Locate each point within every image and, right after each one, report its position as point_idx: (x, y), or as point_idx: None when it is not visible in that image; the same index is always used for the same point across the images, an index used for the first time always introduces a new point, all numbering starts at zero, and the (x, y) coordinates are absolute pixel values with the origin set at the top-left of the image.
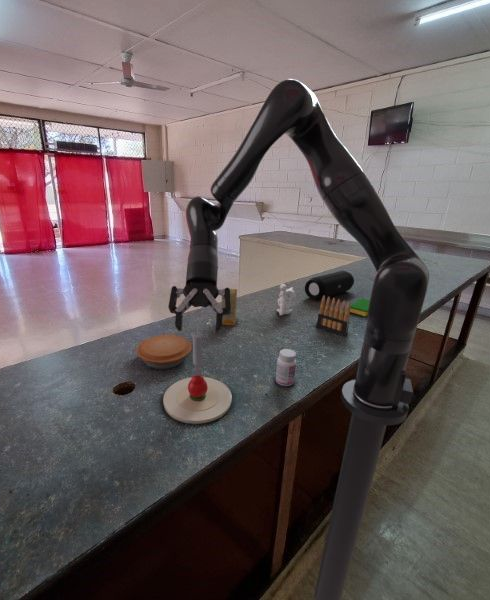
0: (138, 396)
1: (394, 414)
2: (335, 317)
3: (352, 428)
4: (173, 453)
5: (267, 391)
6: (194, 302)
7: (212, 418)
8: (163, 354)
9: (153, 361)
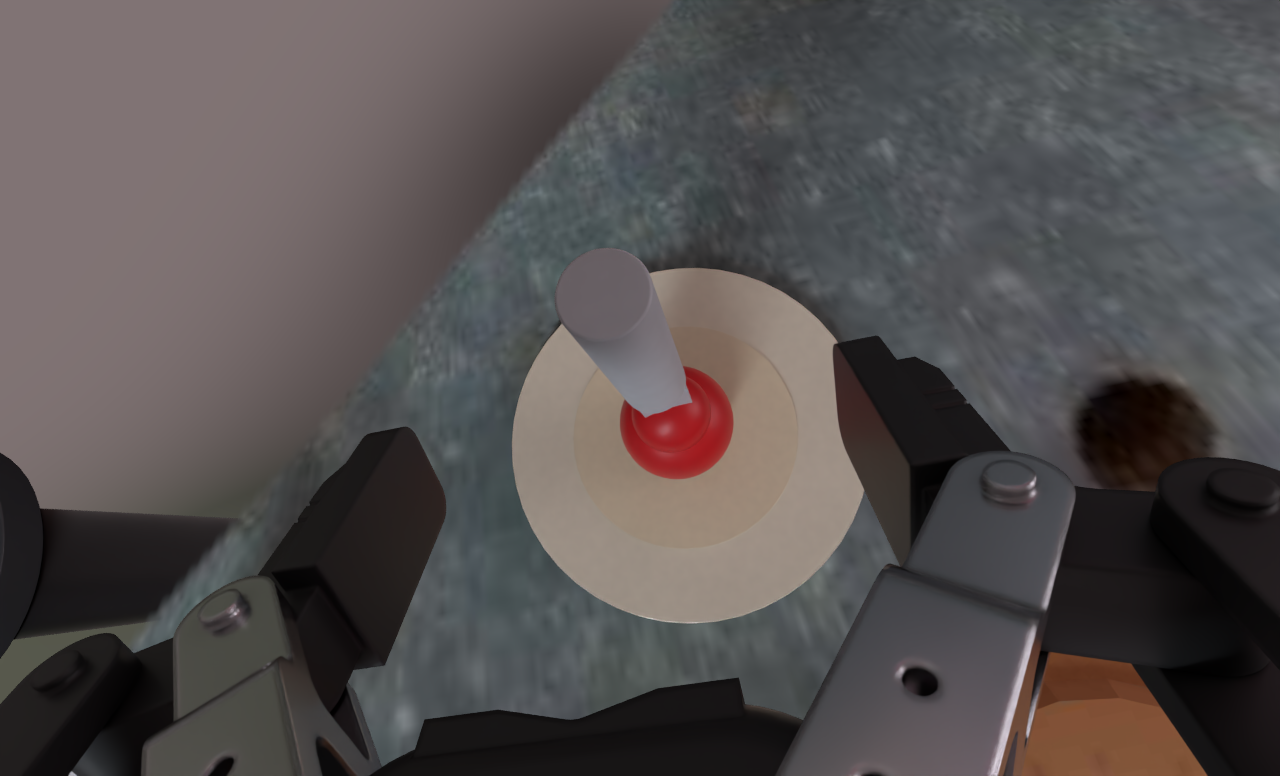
0: (1010, 388)
1: None
2: None
3: (119, 553)
4: (692, 130)
5: None
6: (709, 712)
7: None
8: (1056, 729)
9: None
